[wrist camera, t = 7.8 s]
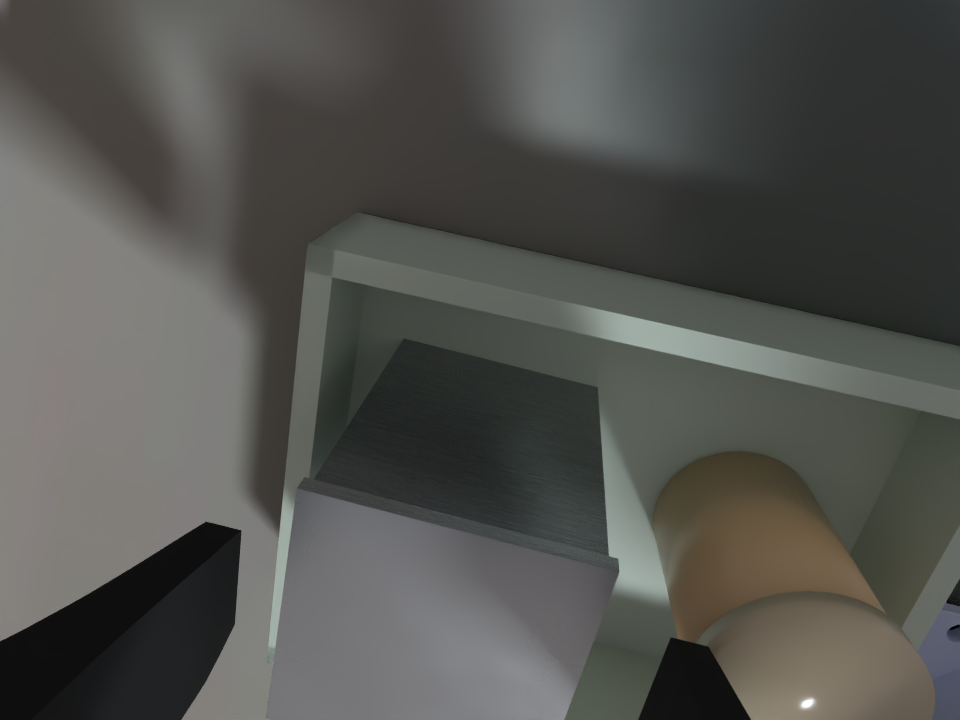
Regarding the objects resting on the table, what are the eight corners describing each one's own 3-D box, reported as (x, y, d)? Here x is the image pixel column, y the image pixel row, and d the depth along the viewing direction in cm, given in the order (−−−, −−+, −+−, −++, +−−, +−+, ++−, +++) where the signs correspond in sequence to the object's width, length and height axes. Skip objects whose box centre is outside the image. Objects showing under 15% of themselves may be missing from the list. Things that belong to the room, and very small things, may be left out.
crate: (966, 347, 15) (1057, 412, 12) (790, 693, 19) (827, 802, 16) (356, 211, 15) (307, 243, 12) (311, 576, 19) (266, 662, 16)
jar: (846, 467, 16) (979, 648, 11) (784, 601, 17) (876, 811, 12) (676, 432, 16) (733, 594, 11) (628, 567, 17) (660, 764, 12)
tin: (603, 384, 16) (619, 572, 10) (550, 550, 17) (537, 791, 12) (400, 333, 16) (297, 488, 10) (369, 502, 17) (265, 717, 12)
